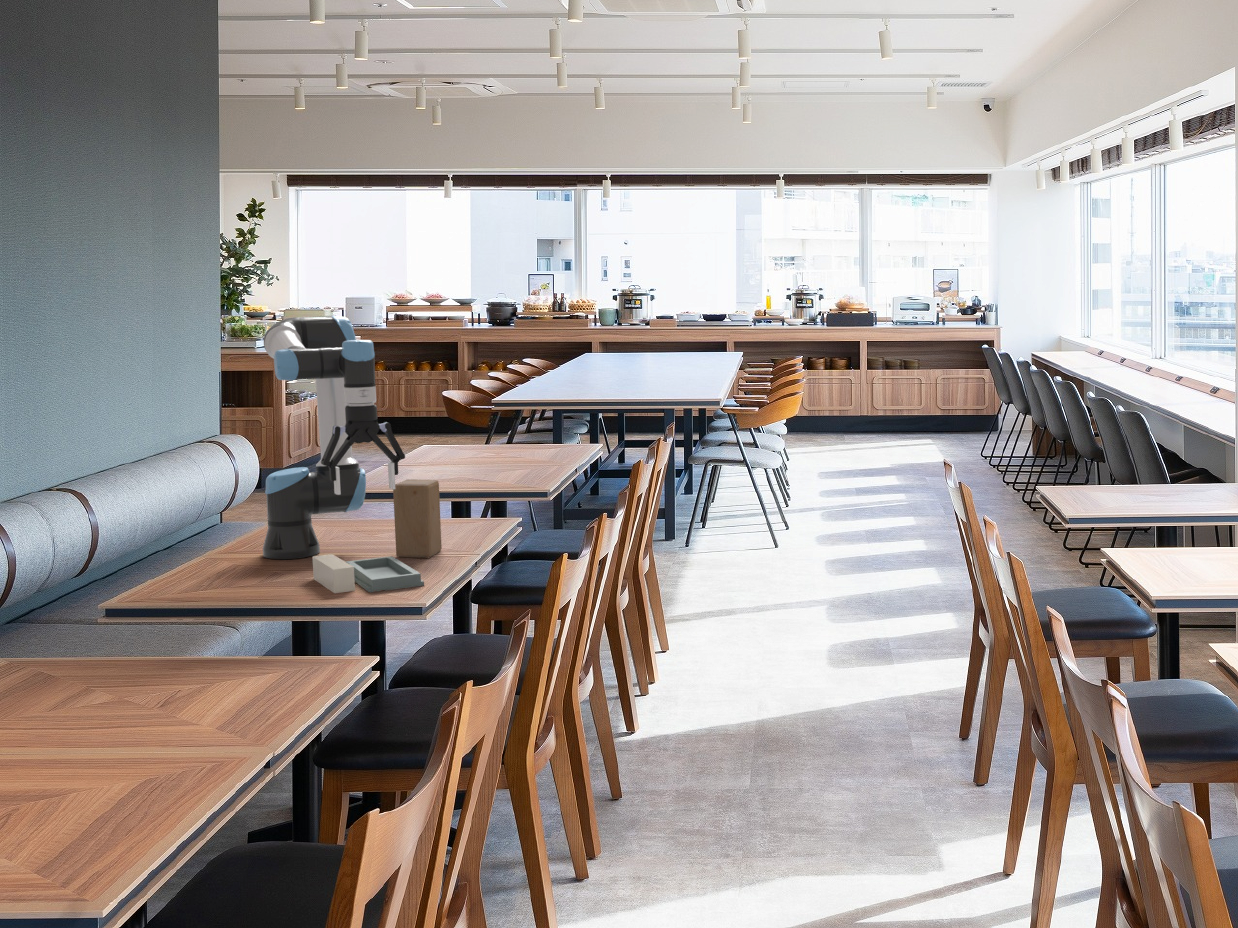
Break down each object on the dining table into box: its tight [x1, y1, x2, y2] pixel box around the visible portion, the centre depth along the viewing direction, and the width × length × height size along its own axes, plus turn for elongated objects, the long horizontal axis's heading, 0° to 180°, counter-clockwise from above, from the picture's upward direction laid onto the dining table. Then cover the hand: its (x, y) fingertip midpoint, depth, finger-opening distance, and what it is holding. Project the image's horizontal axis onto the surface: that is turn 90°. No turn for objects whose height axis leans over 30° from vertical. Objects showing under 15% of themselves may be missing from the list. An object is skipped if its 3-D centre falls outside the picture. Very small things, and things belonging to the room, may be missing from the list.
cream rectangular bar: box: [311, 553, 356, 594], centre depth 304 cm, size 18×5×6 cm, turn 29°
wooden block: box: [392, 478, 442, 559], centre depth 336 cm, size 10×10×20 cm
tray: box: [345, 555, 425, 593], centre depth 308 cm, size 24×14×3 cm, turn 27°
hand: (365, 491), depth 303 cm, fingers open, 13 cm apart
